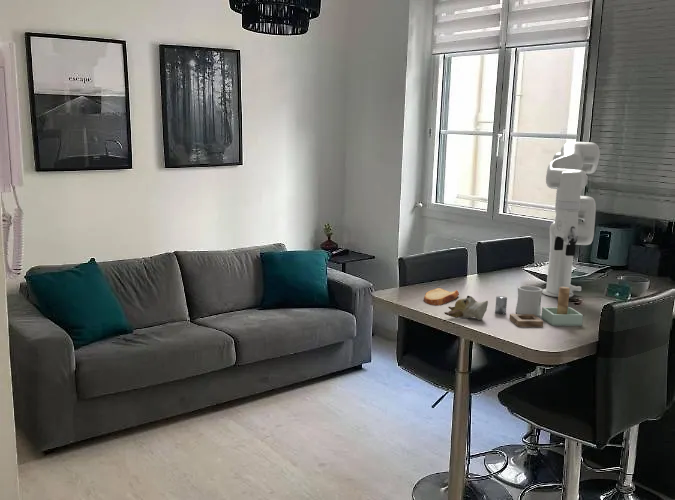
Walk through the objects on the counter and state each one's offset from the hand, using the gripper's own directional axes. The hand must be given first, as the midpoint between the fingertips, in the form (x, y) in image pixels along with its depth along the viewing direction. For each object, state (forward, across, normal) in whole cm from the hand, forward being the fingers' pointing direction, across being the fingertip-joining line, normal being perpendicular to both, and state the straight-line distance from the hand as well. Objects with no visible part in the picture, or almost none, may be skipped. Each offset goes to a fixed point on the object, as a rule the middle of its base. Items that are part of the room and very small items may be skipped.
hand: (564, 252), depth 239 cm
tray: (+25, +4, -1) cm, 25 cm away
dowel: (+24, +4, -1) cm, 24 cm away
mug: (+25, -7, -9) cm, 28 cm away
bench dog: (+25, -7, -20) cm, 32 cm away
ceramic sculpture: (+25, 0, -35) cm, 43 cm away
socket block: (+24, +6, -15) cm, 29 cm away
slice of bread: (+26, -27, -37) cm, 52 cm away
